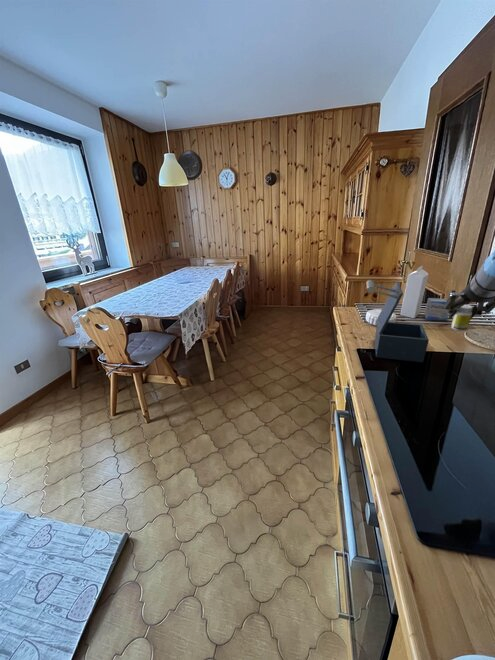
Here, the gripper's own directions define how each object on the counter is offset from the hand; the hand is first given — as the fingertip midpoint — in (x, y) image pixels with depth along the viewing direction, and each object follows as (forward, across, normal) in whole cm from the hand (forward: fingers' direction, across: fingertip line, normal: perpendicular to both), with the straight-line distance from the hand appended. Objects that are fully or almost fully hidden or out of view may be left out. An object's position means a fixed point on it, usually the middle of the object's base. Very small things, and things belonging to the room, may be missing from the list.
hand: (459, 315), depth 101 cm
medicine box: (+23, +3, -7) cm, 24 cm away
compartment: (-1, +18, +17) cm, 25 cm away
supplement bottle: (0, 0, +5) cm, 5 cm away
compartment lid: (-14, +23, +5) cm, 27 cm away
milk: (+23, +13, -8) cm, 28 cm away
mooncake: (+16, +25, -1) cm, 30 cm away
